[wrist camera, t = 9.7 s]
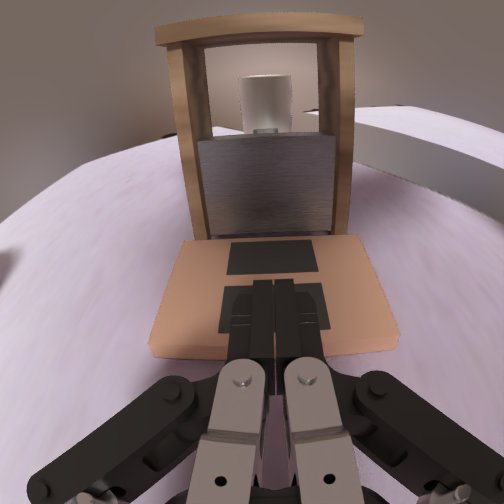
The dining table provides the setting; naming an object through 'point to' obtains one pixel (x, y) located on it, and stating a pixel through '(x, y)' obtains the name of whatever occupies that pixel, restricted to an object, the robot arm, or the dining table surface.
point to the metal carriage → (268, 181)
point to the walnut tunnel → (256, 32)
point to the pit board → (273, 267)
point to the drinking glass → (266, 102)
